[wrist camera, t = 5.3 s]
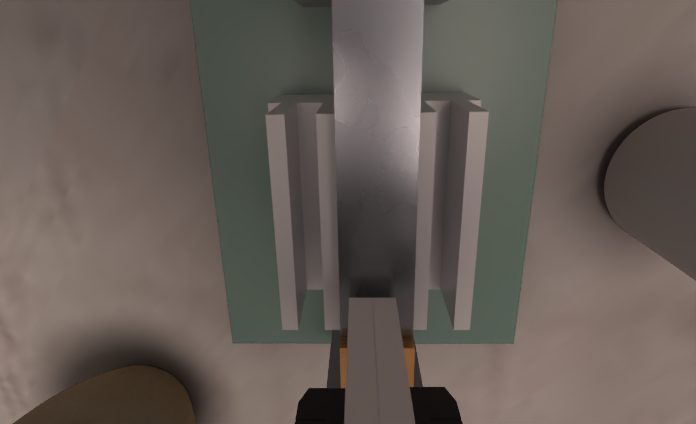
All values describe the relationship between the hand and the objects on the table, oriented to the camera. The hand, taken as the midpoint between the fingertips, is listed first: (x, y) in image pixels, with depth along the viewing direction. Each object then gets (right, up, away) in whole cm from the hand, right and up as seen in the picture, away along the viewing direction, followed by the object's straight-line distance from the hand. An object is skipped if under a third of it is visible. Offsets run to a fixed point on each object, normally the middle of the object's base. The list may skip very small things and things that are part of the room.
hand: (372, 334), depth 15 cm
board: (0, +7, +7) cm, 10 cm away
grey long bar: (0, +5, 0) cm, 5 cm away
